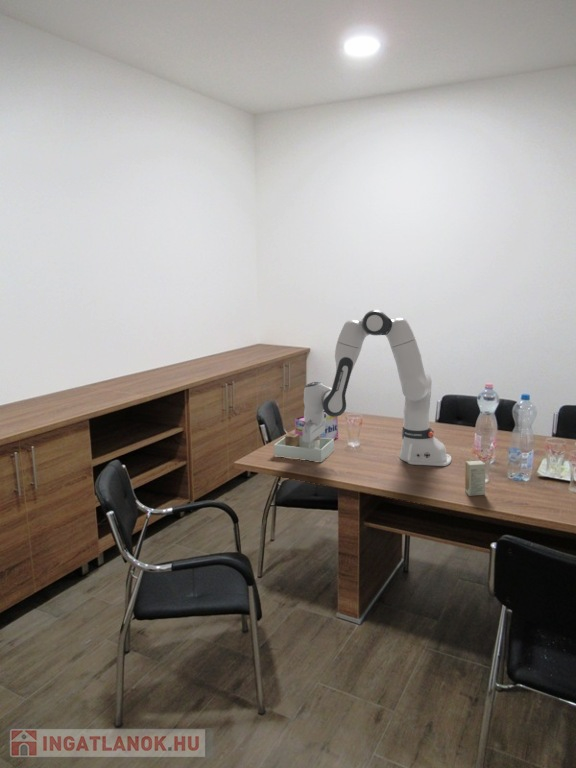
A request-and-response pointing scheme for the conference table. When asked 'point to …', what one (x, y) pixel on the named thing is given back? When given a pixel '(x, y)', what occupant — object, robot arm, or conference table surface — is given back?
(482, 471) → the skincare box
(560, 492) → the conference table surface
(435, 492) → the conference table surface
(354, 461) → the conference table surface
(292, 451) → the tote
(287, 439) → the walnut block
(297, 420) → the gum box
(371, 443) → the conference table surface
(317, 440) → the cream jar
